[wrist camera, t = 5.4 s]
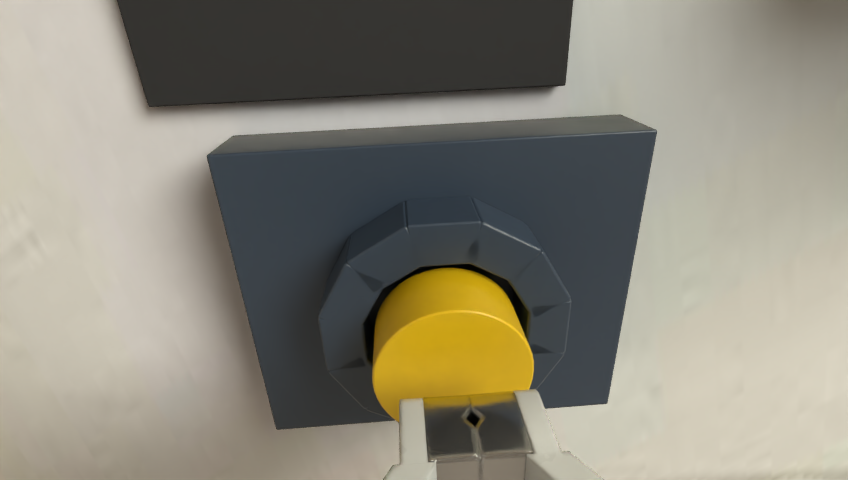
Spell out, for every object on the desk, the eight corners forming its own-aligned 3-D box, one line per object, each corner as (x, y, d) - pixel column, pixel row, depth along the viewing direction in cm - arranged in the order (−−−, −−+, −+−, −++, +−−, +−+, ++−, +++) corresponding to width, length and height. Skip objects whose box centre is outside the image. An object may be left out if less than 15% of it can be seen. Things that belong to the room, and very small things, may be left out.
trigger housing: (288, 385, 18) (263, 476, 15) (231, 135, 14) (175, 177, 10) (585, 363, 19) (631, 445, 15) (621, 114, 14) (698, 146, 11)
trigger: (381, 385, 14) (379, 442, 12) (368, 271, 12) (364, 317, 10) (511, 376, 14) (529, 430, 12) (518, 261, 12) (540, 305, 10)
